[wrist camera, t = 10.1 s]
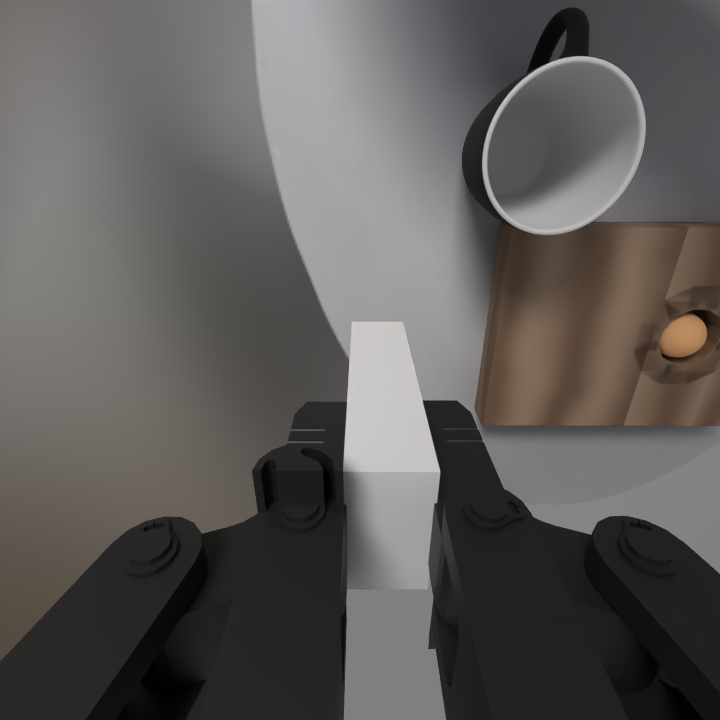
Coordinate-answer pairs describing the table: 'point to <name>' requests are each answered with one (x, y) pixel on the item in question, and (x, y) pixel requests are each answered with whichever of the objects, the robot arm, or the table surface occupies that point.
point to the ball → (683, 336)
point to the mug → (557, 137)
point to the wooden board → (601, 327)
